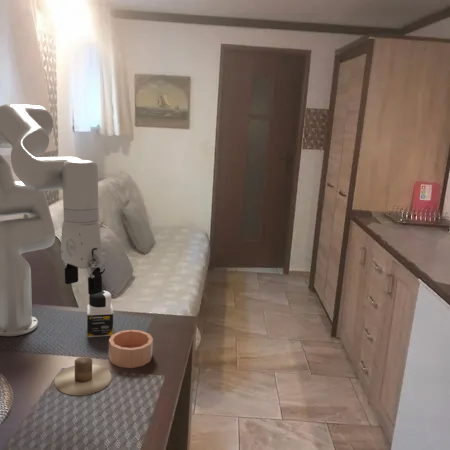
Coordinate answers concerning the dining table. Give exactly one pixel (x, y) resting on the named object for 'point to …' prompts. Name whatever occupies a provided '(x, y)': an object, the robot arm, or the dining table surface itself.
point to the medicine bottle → (100, 315)
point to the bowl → (130, 348)
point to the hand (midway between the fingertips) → (83, 287)
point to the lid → (83, 378)
